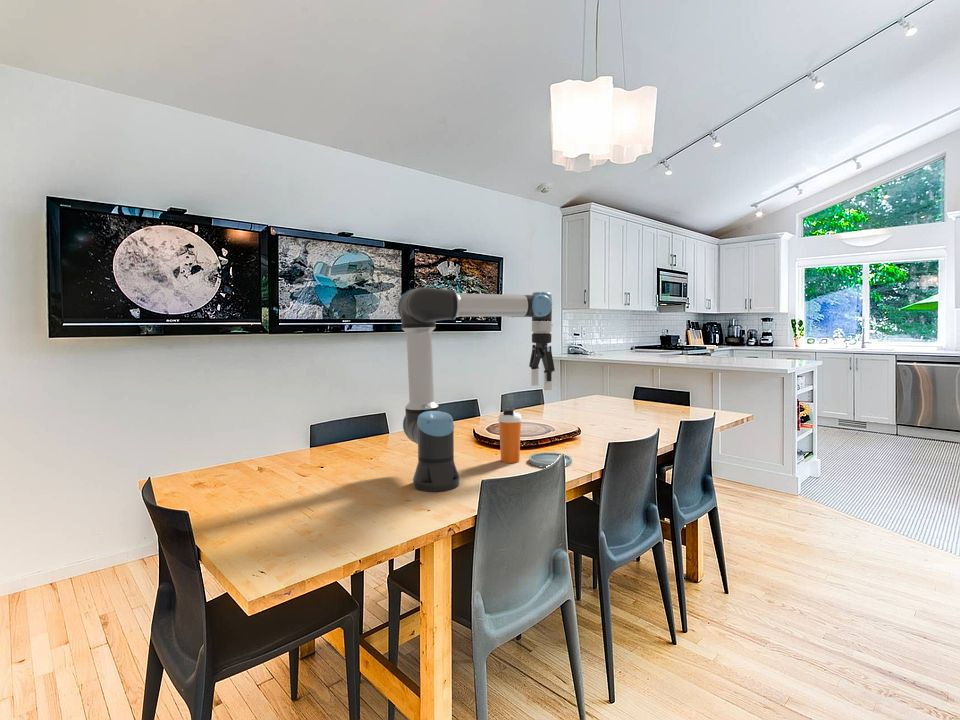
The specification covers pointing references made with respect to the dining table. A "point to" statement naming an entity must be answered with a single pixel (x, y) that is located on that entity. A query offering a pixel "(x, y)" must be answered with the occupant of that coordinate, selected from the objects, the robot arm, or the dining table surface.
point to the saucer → (547, 459)
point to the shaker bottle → (510, 435)
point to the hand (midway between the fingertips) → (541, 387)
